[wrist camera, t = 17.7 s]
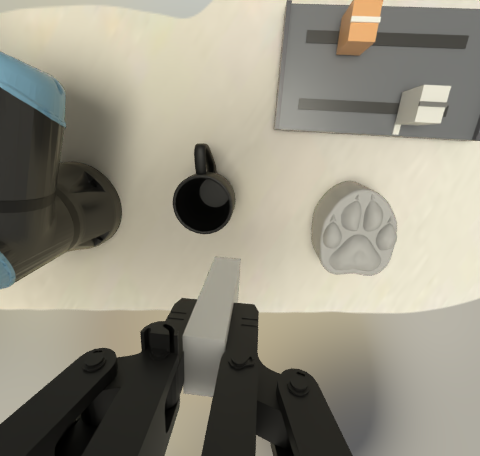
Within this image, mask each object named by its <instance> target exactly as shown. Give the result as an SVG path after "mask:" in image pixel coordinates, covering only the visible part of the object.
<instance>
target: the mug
mask: <svg viewBox="0 0 480 456" xmlns="http://www.w3.org/2000/svg"><path fill="white" fill-rule="evenodd" d="M194 157H195V169H196V174H194V175H192V176H190V177H188V178H187V179H185V180H183V181H182V182H181V183H180V184H179V185H178V187H177V189H176V190H175V193H174V197H173V208H174V212H175V215H176V217H177V219H178V220H179V221H180V223H181V224H182V225H183V226H184V227H185V228H187V229H189V230H190V231H193V232H195V233H200V234H210V233H214V232H217V231H219V230H220V229H222V228H223V227H224V226H225V225H226V224H227V223H228V221H229V220H230V218H231V215H232V213H233V210H234V207H235V194H234V191H233V188H232V186H231V185H230V183H229V182H228V181H227V180H226V179H225V178H224V177H223V176H221V175H219V174H216V166H215V162H214V159H213V156H212V153H211V151H210V148H209V146H208V145H207V144H196V145H195V150H194ZM206 167H207V170H206Z"/></svg>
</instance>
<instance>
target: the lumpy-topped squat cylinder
mask: <svg viewBox="0 0 480 456" xmlns="http://www.w3.org/2000/svg"><path fill="white" fill-rule="evenodd" d="M396 240H397V221H396V218H395V215H394V213H393V211H392V209H391V207H390V205H389V203H388V202H387V201H386V199H385V198H384V197H382V196H381V195H380V194H379V193H377V192H375V191H373V190H371V189H369V188H367V187H365V186H363V185H361V184H359V183H356V182H353V181H345V182H342V183H339V184H337V185H335V186H334V187H332V188H331V189H330V190H328V191H327V192H326V193H325V194H324V196H323V197H322V198H321V200H320V201H319V202H318V204H317V206H316V207H315V210H314V213H313V219H312V244H313V247H314V249H315V251H316V253H317V255H318V257H319V259H320V261H321V264H322V266H323V267H324V268H325V269H326V270H327V271H328V272H330V273H332V274H348V273H354V274H360V275H366V276H372V275H375V274H378V273H379V272H381V271H382V270H383V269H384V268H385V267H386V266H387V264H388V263H389V261H390V258H391V255H392V252H393V249H394V245H395V243H396Z"/></svg>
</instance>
